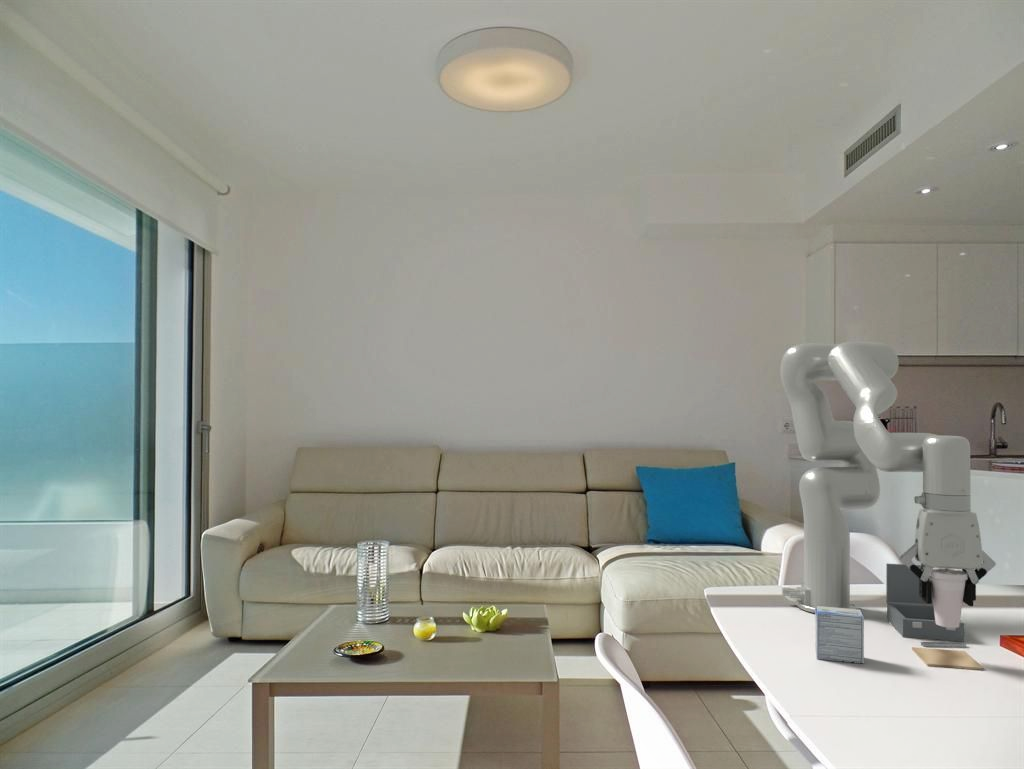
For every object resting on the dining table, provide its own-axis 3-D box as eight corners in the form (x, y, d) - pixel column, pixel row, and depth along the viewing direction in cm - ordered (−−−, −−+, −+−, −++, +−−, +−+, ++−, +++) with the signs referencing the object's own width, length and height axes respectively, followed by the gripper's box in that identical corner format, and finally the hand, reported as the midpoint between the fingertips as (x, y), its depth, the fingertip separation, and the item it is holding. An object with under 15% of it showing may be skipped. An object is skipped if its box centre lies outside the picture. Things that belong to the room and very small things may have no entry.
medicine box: (861, 657, 138) (861, 609, 138) (864, 665, 134) (864, 615, 134) (814, 651, 140) (815, 605, 141) (816, 659, 136) (816, 611, 136)
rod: (923, 648, 144) (923, 643, 144) (920, 647, 145) (920, 641, 145) (966, 649, 144) (966, 644, 144) (963, 647, 145) (963, 642, 145)
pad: (927, 665, 133) (927, 663, 133) (911, 649, 142) (911, 647, 142) (983, 670, 131) (983, 667, 131) (964, 653, 140) (964, 651, 140)
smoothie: (965, 622, 138) (965, 545, 139) (970, 632, 132) (970, 551, 133) (925, 618, 141) (925, 542, 141) (928, 627, 135) (928, 548, 136)
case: (903, 637, 149) (903, 577, 149) (886, 619, 162) (886, 563, 162) (965, 641, 147) (965, 580, 147) (942, 623, 159) (942, 566, 159)
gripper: (900, 504, 135) (901, 605, 135) (1008, 508, 132) (1009, 611, 131) (889, 499, 143) (889, 595, 142) (991, 502, 139) (991, 601, 139)
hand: (947, 602), depth 137 cm, fingers closed on smoothie, 6 cm apart
